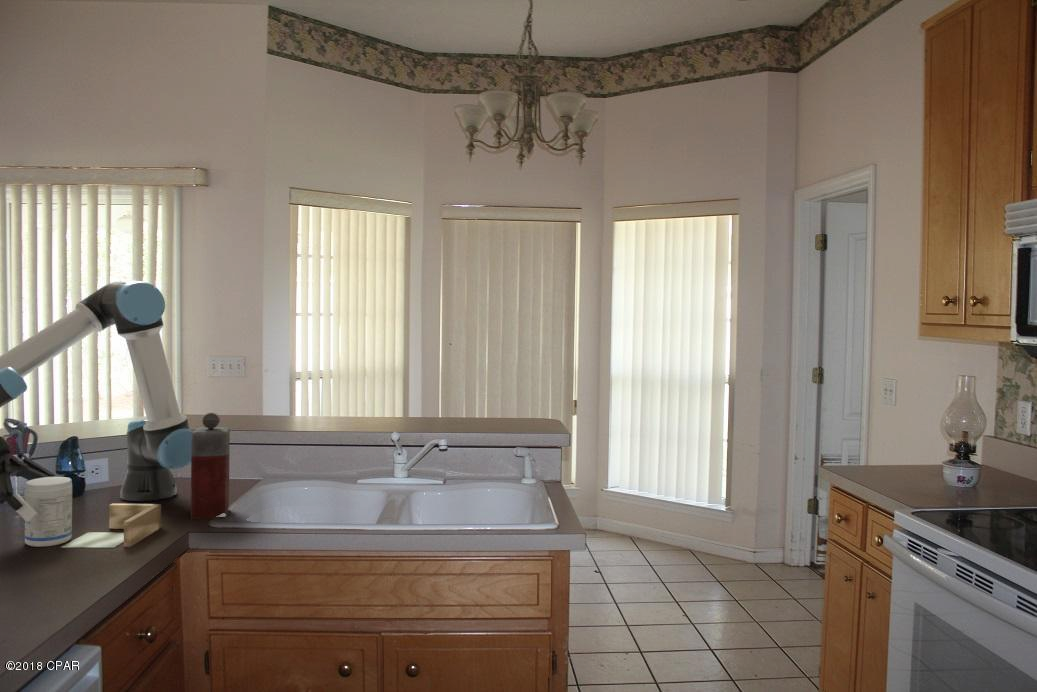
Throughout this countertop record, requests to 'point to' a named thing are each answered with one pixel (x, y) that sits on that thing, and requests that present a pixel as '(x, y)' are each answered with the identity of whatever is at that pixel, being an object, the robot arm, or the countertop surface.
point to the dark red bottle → (210, 469)
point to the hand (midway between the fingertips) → (50, 510)
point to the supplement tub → (49, 511)
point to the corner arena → (123, 527)
